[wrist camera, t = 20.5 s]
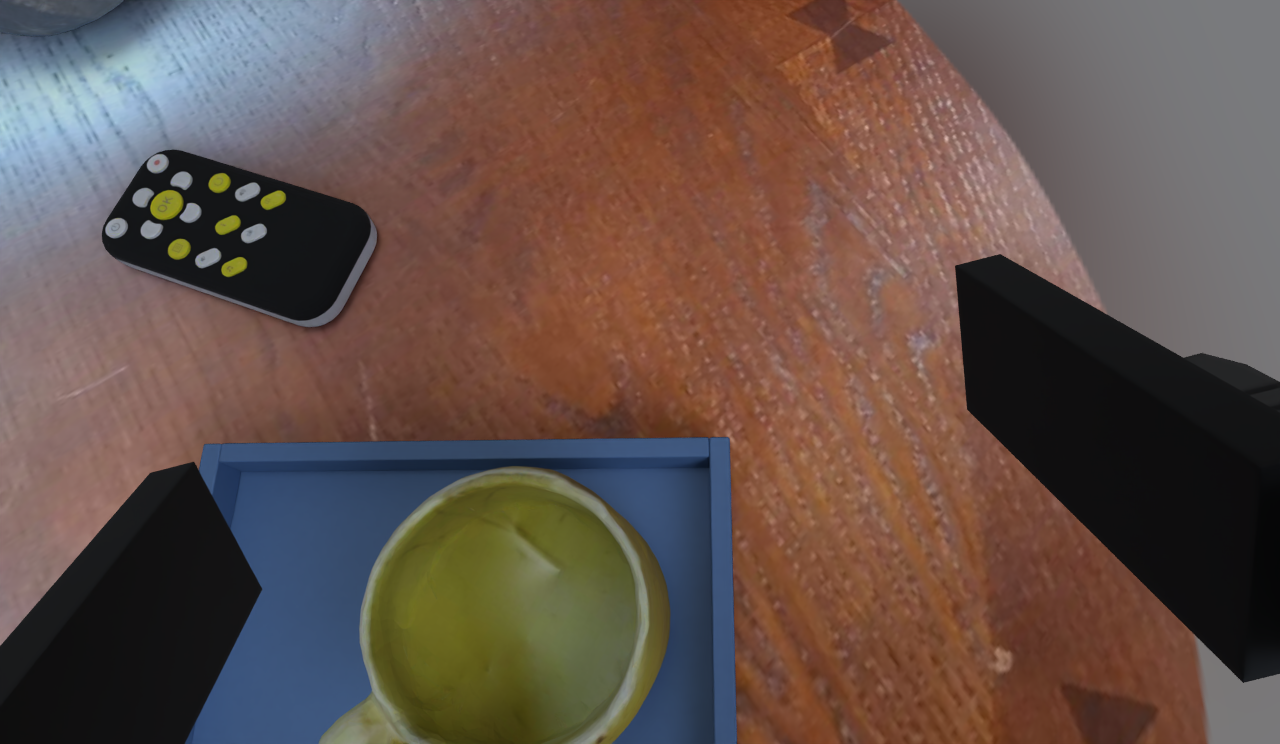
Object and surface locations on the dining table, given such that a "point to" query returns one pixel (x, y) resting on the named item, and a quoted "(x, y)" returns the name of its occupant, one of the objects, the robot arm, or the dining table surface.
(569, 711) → the mug
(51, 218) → the dining table surface
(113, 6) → the grey stone bowl
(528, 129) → the dining table surface
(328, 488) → the blue tray
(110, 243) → the remote control
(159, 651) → the robot arm
